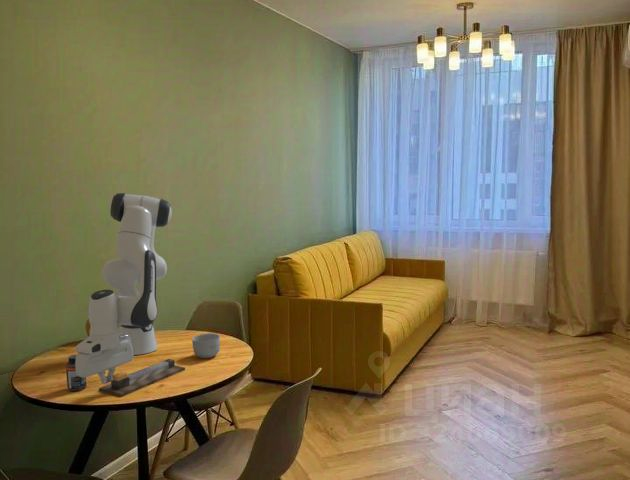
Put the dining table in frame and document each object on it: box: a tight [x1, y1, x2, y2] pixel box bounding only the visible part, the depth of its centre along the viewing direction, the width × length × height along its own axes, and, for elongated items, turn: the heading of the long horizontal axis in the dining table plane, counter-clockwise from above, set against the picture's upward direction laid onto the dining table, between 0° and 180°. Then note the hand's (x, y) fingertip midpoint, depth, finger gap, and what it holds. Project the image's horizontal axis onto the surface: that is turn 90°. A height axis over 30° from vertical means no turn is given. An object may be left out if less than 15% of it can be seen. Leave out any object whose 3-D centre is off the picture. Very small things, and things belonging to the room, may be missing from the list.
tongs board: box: [98, 362, 186, 398], centre depth 192 cm, size 29×11×4 cm, turn 150°
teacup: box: [191, 332, 221, 359], centre depth 220 cm, size 14×11×8 cm
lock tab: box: [113, 371, 128, 381], centre depth 183 cm, size 4×3×1 cm
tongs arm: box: [127, 358, 176, 381], centre depth 195 cm, size 21×3×1 cm, turn 150°
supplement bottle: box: [65, 354, 87, 392], centre depth 185 cm, size 6×6×11 cm
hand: (107, 382), depth 179 cm, fingers closed
